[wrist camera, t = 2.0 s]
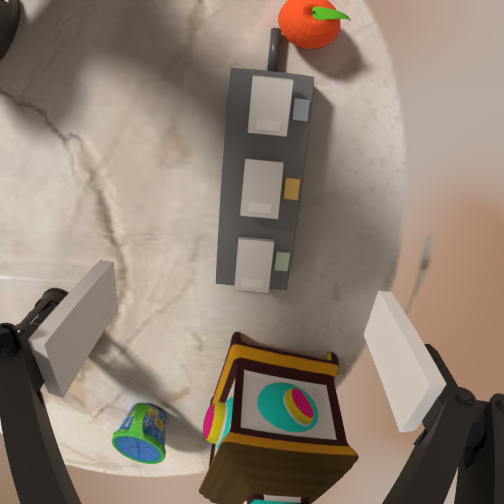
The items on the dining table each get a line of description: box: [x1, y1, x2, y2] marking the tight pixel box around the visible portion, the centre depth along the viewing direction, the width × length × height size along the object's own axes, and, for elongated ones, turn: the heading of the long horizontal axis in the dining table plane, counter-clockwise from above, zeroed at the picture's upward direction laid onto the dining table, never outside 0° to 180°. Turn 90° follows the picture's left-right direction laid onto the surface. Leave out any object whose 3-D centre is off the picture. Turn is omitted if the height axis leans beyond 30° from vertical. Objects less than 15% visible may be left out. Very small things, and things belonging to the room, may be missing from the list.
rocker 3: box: [234, 237, 274, 293], centre depth 38 cm, size 6×4×2 cm, turn 175°
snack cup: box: [112, 403, 166, 464], centre depth 54 cm, size 16×10×10 cm
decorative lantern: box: [199, 332, 359, 504], centre depth 39 cm, size 20×20×30 cm
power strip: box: [216, 28, 314, 290], centre depth 37 cm, size 32×9×4 cm, turn 175°
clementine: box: [278, 0, 351, 49], centre depth 29 cm, size 8×7×7 cm
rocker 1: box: [248, 76, 293, 137], centre depth 31 cm, size 6×4×2 cm, turn 174°
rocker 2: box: [240, 159, 284, 219], centre depth 34 cm, size 6×4×2 cm, turn 175°
